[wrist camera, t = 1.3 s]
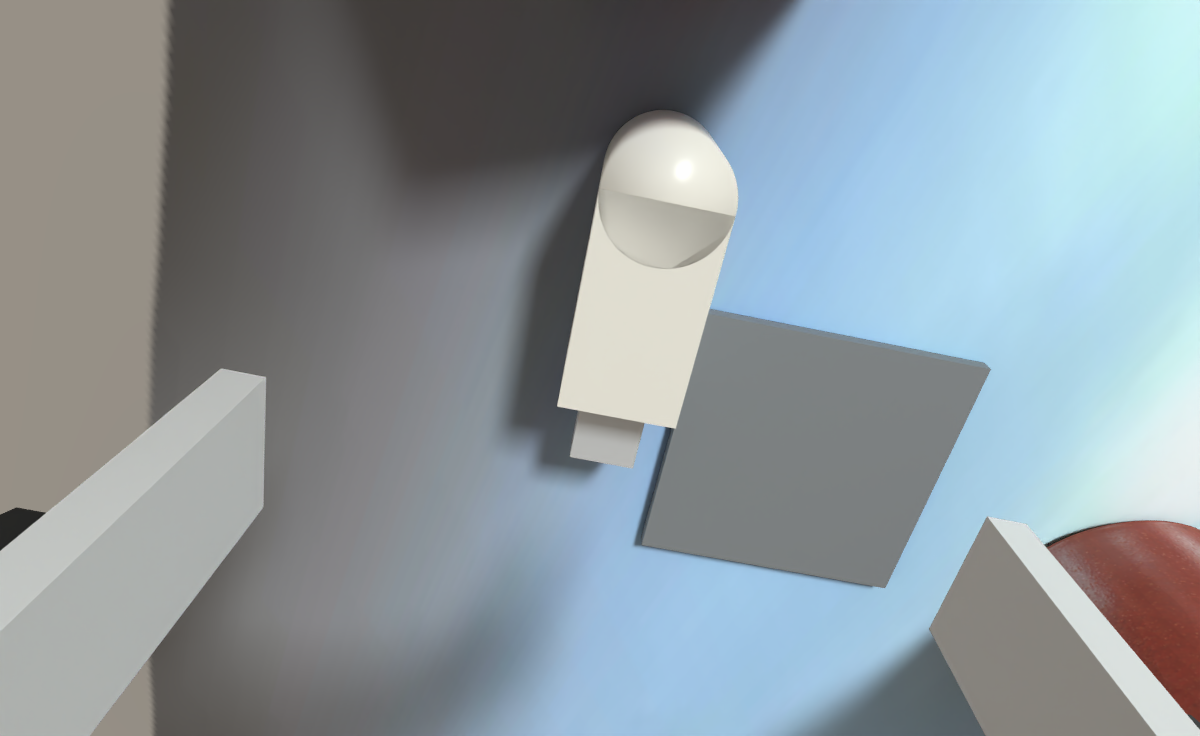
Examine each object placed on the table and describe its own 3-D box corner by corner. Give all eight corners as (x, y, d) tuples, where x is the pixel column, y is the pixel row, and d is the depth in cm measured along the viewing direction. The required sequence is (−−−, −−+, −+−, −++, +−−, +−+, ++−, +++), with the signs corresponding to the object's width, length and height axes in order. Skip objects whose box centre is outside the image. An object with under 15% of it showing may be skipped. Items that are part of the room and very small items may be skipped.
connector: (616, 98, 27) (613, 116, 22) (733, 123, 27) (755, 146, 22) (554, 413, 32) (543, 478, 28) (651, 431, 33) (655, 498, 28)
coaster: (704, 307, 30) (706, 313, 29) (984, 362, 31) (990, 369, 30) (641, 536, 35) (641, 545, 35) (881, 579, 36) (884, 588, 35)
